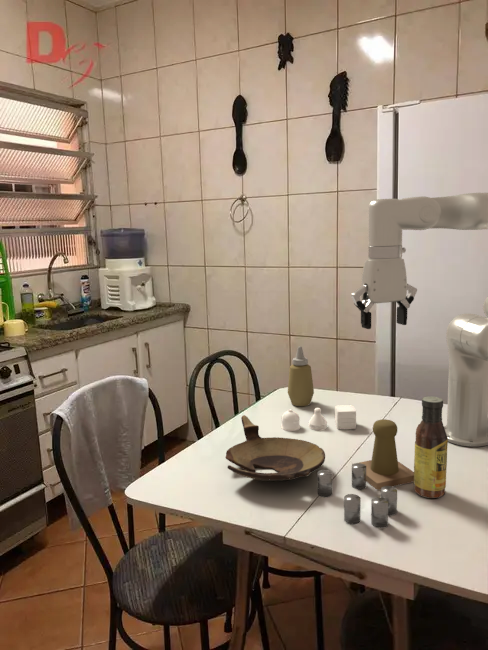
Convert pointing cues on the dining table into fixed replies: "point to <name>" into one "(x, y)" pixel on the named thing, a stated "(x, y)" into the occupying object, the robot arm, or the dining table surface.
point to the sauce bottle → (430, 451)
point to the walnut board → (388, 476)
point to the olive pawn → (384, 448)
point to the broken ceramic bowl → (273, 456)
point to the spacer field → (353, 502)
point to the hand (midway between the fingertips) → (384, 326)
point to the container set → (321, 419)
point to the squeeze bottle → (300, 380)
